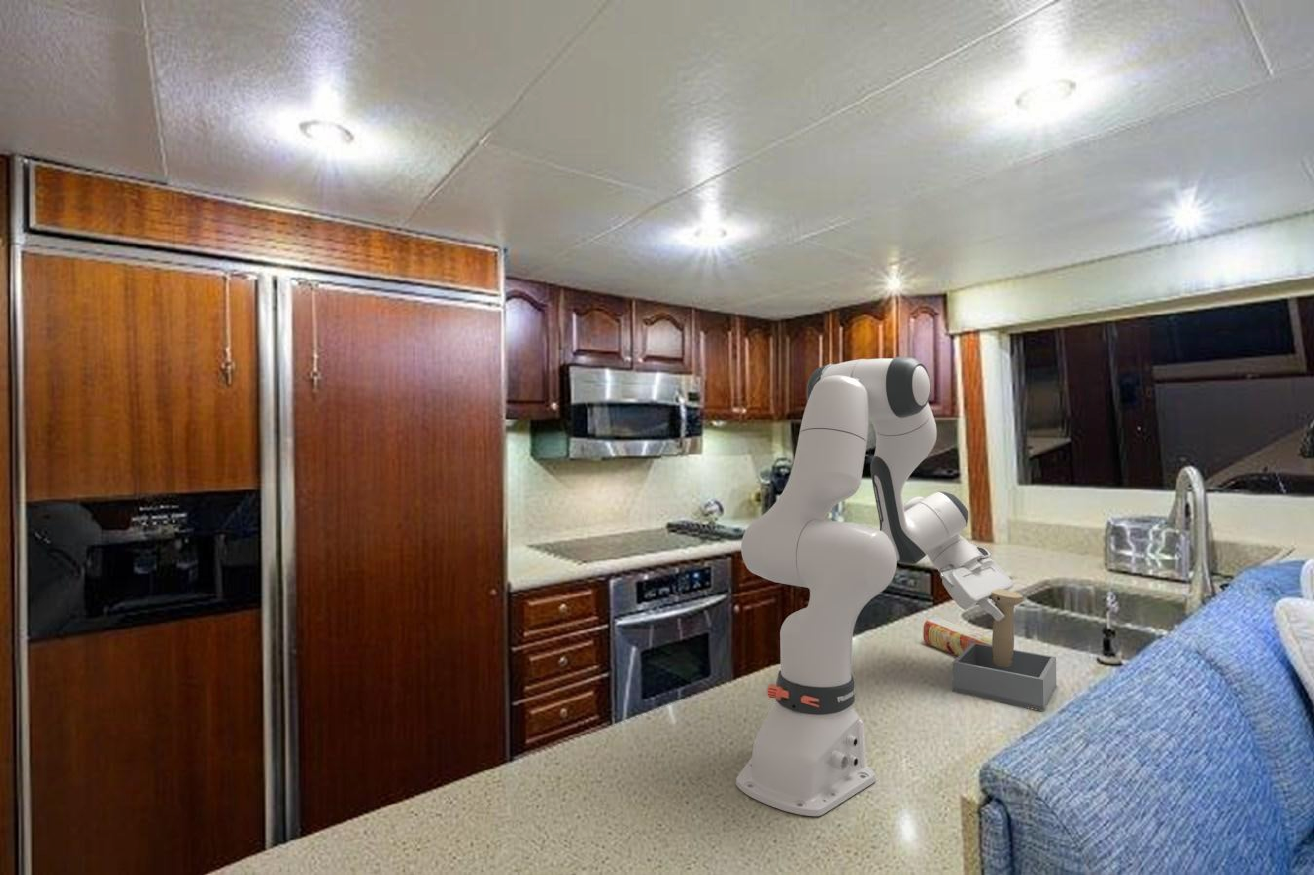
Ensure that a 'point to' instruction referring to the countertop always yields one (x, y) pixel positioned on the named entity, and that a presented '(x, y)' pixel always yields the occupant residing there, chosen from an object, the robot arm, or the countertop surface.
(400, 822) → the countertop surface
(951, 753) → the countertop surface
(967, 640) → the snack package
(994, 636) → the handle
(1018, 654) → the box
